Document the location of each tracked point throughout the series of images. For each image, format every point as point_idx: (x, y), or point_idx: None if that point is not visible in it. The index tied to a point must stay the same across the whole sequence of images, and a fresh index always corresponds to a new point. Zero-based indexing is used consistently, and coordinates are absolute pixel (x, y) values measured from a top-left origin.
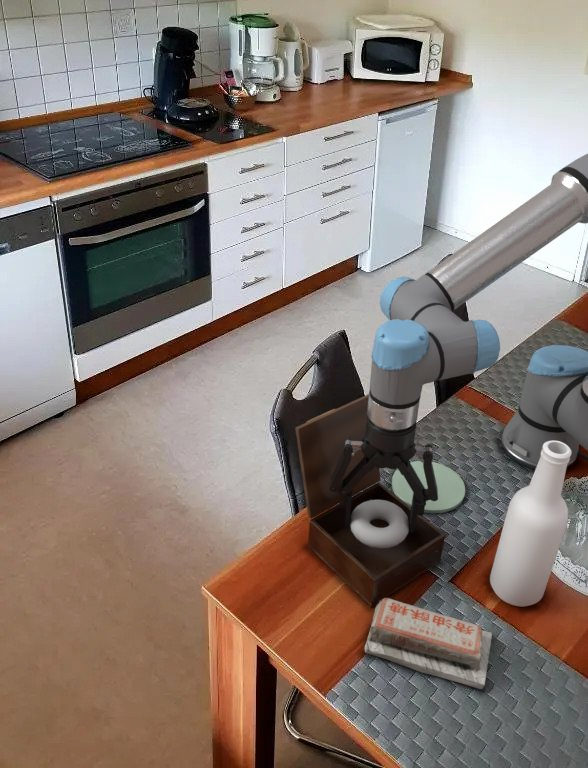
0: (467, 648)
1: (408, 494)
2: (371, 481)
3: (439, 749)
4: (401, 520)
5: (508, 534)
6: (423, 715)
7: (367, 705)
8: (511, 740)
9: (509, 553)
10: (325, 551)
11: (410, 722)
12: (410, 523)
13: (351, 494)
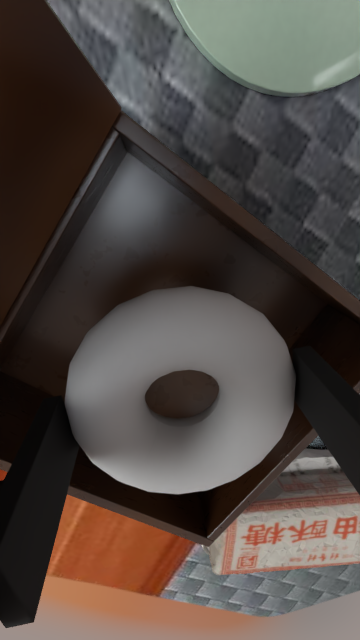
0: None
1: (233, 12)
2: (77, 164)
3: (317, 595)
4: (274, 412)
5: None
6: (297, 572)
7: (220, 588)
8: None
9: None
10: None
11: (280, 584)
12: (312, 421)
13: (20, 606)
